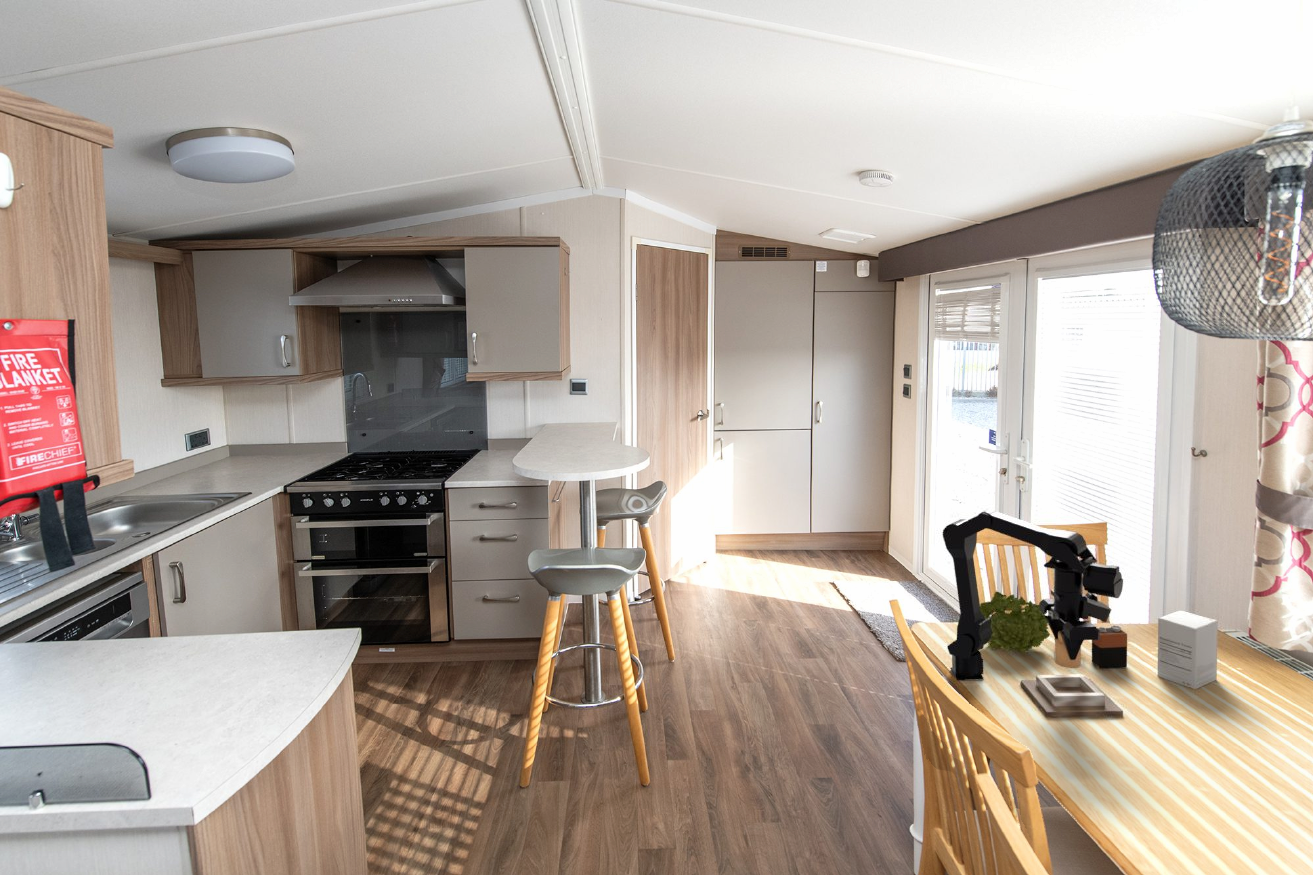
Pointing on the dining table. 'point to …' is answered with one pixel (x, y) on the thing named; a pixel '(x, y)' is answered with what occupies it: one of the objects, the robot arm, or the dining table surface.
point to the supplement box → (1187, 649)
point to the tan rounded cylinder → (1065, 655)
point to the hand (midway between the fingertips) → (1067, 654)
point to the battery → (1110, 648)
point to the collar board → (1070, 696)
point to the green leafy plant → (1014, 623)
